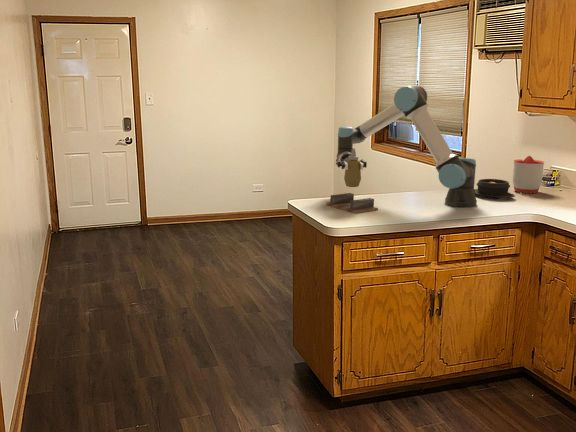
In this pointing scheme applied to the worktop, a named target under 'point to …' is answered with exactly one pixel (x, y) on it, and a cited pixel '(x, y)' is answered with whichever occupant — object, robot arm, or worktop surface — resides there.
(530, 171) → the citrus juicer
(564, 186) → the worktop surface
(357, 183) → the squeeze bottle
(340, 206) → the end cap board
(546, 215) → the worktop surface
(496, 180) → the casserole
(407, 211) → the worktop surface
